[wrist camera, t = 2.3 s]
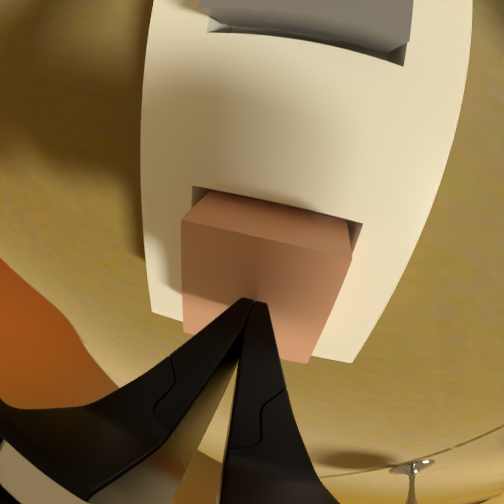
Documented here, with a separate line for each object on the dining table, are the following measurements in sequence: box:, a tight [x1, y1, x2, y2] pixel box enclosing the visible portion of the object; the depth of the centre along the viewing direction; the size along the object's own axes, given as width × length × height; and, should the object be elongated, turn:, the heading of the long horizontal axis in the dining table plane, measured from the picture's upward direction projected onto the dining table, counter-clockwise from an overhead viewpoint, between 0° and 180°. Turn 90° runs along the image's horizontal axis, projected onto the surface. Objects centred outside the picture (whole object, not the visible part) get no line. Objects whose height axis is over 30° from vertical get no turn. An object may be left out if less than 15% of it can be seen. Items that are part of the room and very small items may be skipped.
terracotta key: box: [181, 190, 352, 364], centre depth 10 cm, size 5×5×2 cm
